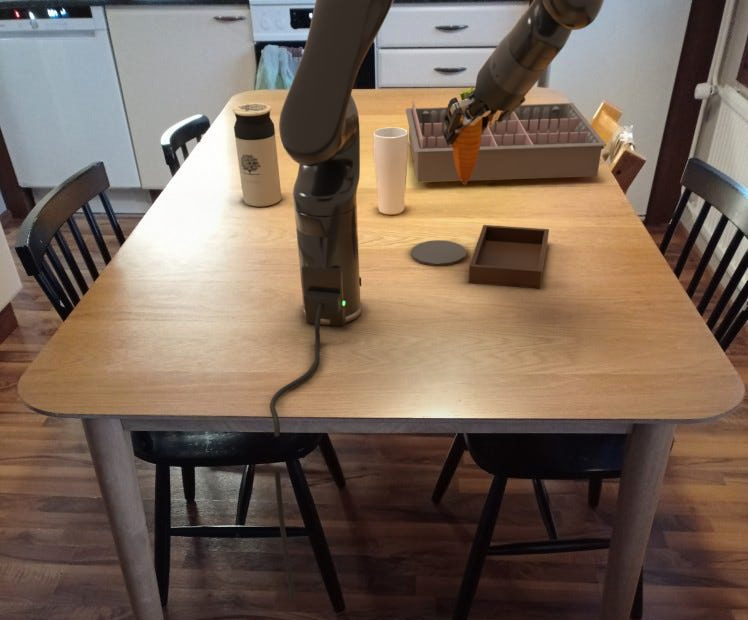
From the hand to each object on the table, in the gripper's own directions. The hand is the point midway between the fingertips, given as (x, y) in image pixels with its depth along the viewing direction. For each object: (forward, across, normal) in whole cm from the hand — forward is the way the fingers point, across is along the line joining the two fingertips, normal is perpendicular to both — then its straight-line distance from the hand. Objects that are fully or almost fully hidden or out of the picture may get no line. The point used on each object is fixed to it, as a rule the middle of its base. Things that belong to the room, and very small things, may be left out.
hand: (460, 136), depth 129 cm
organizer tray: (+38, +37, +10) cm, 54 cm away
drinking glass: (+31, +1, +2) cm, 31 cm away
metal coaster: (+15, -3, -13) cm, 20 cm away
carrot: (+4, 0, -7) cm, 8 cm away
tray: (+7, +5, -21) cm, 23 cm away
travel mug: (+45, -18, +17) cm, 52 cm away
